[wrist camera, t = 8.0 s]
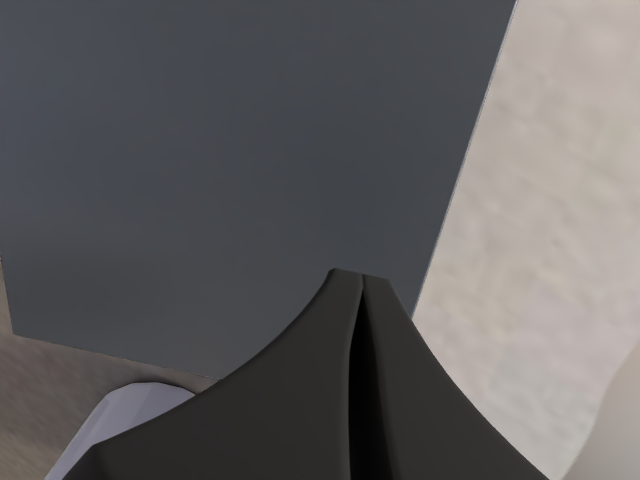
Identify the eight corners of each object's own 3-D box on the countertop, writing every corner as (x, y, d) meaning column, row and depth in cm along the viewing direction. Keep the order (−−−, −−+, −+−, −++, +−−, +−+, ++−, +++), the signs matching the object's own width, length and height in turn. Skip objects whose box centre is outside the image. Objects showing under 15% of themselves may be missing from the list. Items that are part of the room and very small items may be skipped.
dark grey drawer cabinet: (138, -136, 16) (-87, -268, 8) (475, -70, 16) (566, -143, 8) (139, 221, 22) (12, 335, 14) (380, 272, 22) (380, 415, 14)
